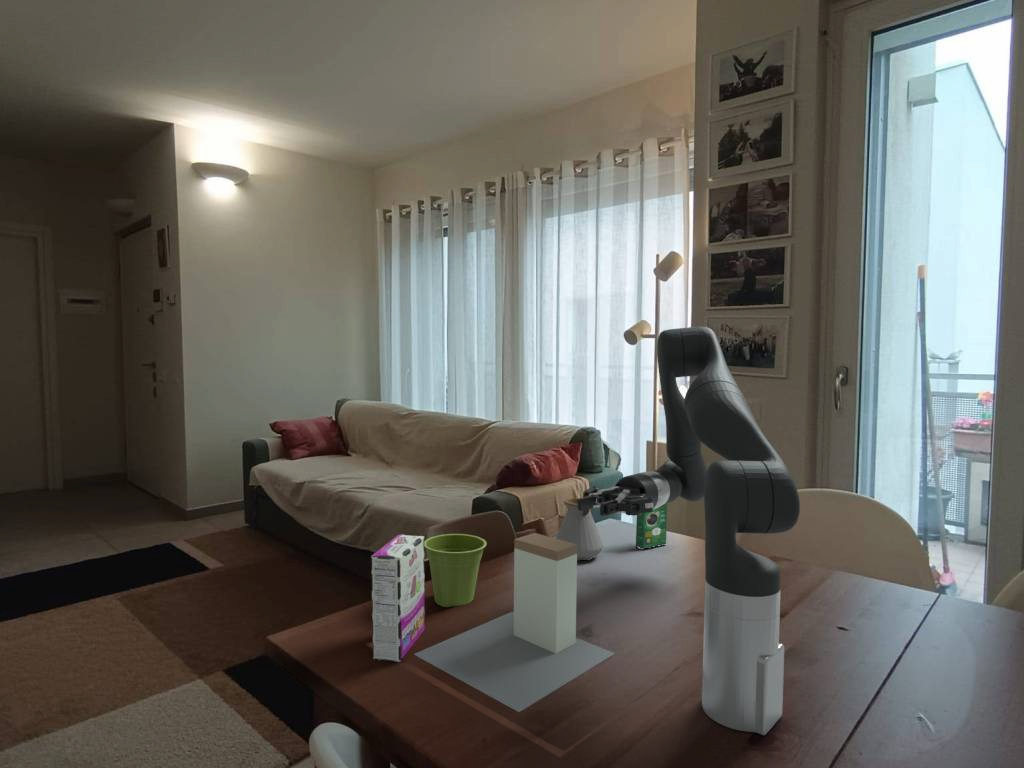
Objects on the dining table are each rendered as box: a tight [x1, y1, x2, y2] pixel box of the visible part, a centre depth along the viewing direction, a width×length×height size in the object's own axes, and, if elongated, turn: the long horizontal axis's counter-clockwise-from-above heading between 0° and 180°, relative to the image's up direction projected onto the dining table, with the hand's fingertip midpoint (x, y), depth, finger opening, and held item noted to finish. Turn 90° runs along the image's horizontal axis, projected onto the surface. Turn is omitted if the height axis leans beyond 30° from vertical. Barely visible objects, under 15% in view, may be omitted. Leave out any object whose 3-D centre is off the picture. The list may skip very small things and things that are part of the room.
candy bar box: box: [370, 534, 426, 663], centre depth 99 cm, size 11×5×16 cm, turn 168°
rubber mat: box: [413, 611, 616, 713], centre depth 96 cm, size 22×22×1 cm
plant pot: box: [424, 533, 487, 608], centre depth 117 cm, size 12×12×11 cm
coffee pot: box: [555, 497, 604, 561], centre depth 139 cm, size 21×12×15 cm, turn 0°
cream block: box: [513, 532, 578, 653], centre depth 100 cm, size 9×5×16 cm, turn 47°
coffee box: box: [635, 503, 668, 550], centre depth 151 cm, size 8×3×13 cm, turn 122°
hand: (590, 507), depth 109 cm, fingers open, 4 cm apart
